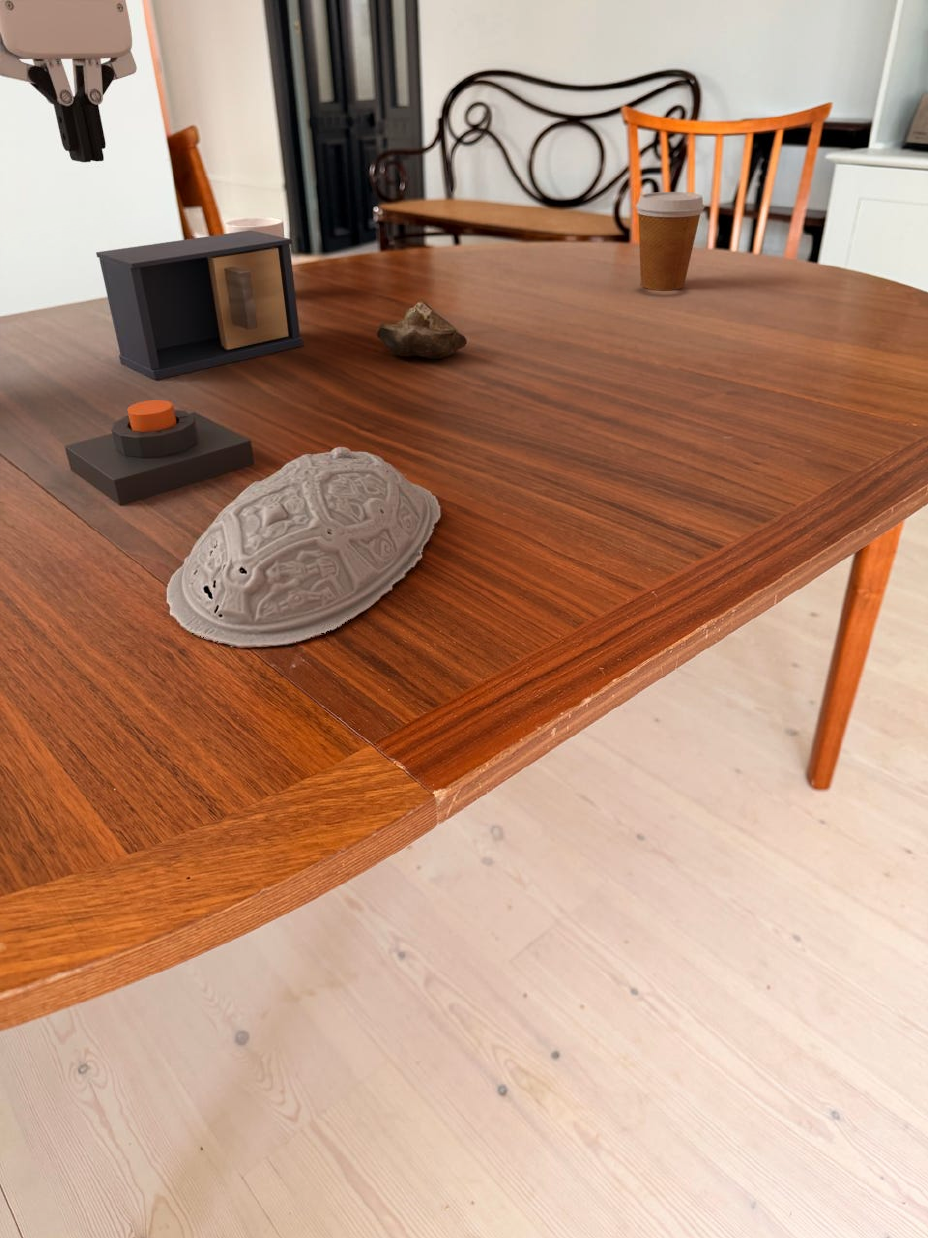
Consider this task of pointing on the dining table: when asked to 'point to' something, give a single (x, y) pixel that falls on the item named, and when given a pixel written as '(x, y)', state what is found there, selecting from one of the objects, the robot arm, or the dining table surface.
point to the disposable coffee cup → (667, 237)
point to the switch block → (158, 457)
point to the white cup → (257, 226)
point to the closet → (184, 303)
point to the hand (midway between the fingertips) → (87, 159)
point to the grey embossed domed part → (303, 551)
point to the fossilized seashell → (421, 334)
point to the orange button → (151, 415)
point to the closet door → (249, 297)
